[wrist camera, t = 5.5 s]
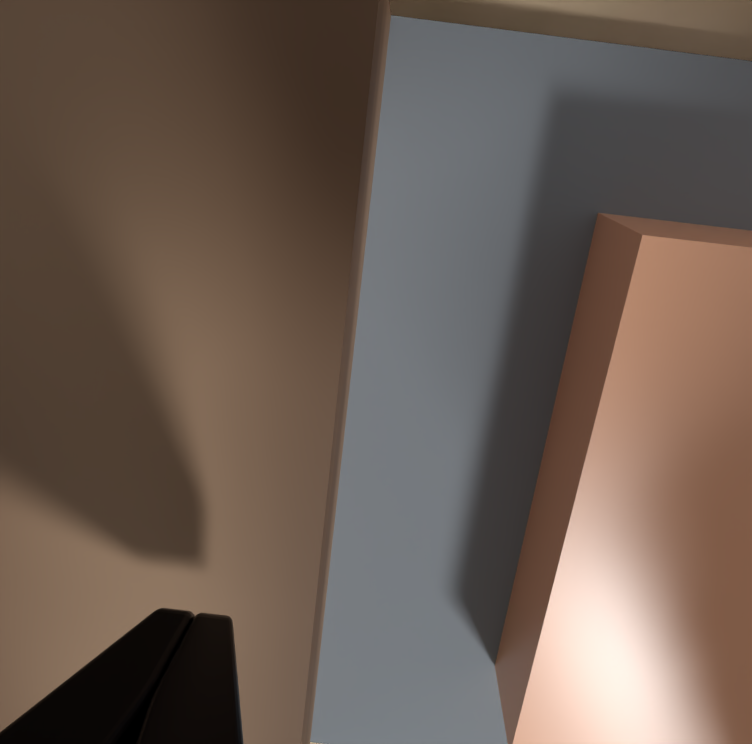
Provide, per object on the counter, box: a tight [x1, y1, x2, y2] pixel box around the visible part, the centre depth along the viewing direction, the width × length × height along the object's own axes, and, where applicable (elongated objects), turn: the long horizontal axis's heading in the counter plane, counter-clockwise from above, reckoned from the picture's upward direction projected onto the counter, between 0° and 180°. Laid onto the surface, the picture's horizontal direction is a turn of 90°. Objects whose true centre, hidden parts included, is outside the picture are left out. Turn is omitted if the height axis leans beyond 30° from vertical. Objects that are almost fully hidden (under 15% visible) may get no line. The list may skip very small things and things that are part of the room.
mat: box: [310, 15, 752, 744], centre depth 12 cm, size 9×14×1 cm, turn 173°
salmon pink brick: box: [495, 213, 752, 744], centre depth 11 cm, size 6×9×2 cm, turn 174°
